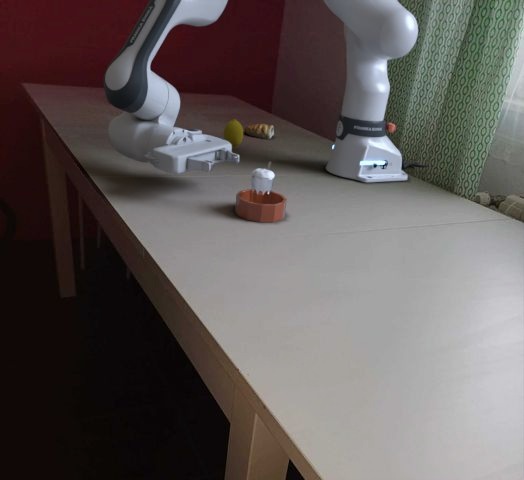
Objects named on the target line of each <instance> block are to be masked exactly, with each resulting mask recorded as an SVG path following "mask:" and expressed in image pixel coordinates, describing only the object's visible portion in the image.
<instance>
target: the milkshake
mask: <svg viewBox="0 0 524 480" xmlns="http://www.w3.org/2000/svg"><path fill="white" fill-rule="evenodd" d="M271 166H272V161H268V165H267V168H259V167H257V168H255V169H254V170H253V171H251V189H252V201H251V202H253V203H258V204H269V202H270V196H271V191H273V185H274V181H275V178H276V177H275V176H276V175H275V173H274V171H272V170H270V169H271Z"/></svg>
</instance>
